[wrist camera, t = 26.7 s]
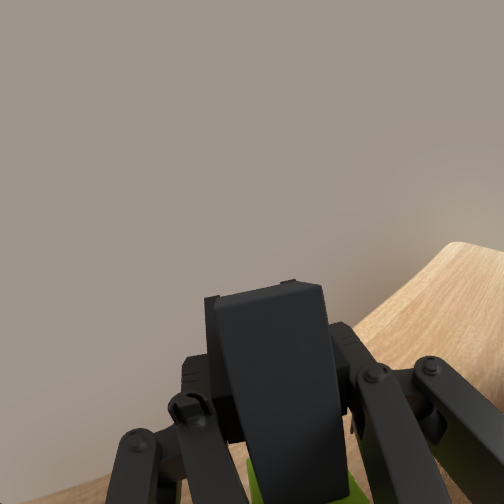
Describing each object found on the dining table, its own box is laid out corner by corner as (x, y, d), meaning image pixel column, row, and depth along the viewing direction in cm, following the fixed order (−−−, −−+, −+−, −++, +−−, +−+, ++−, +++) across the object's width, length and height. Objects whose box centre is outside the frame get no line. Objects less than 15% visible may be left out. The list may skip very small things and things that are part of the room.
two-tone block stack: (376, 553, 6) (361, 282, 7) (274, 583, 6) (186, 321, 6) (333, 479, 12) (300, 276, 13) (258, 498, 12) (204, 296, 12)
